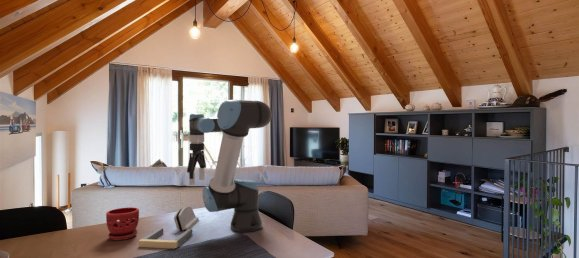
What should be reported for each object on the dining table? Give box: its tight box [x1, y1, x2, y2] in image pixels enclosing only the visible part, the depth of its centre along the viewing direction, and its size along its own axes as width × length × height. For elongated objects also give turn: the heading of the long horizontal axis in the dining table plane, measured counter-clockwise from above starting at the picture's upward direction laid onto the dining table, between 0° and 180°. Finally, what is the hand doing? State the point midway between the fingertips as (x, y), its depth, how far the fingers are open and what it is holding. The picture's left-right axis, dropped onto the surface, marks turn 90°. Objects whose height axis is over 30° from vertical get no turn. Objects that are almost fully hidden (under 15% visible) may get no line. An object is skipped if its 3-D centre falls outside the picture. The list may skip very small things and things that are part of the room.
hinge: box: [173, 206, 200, 232], centre depth 158 cm, size 17×5×10 cm, turn 178°
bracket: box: [138, 227, 193, 249], centre depth 138 cm, size 16×16×2 cm
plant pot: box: [105, 206, 140, 241], centre depth 144 cm, size 13×13×12 cm
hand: (197, 182), depth 171 cm, fingers open, 13 cm apart
